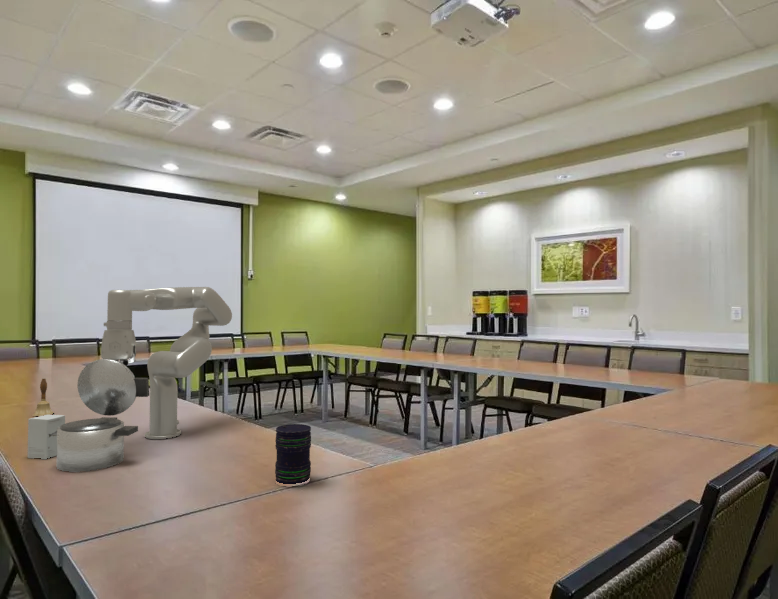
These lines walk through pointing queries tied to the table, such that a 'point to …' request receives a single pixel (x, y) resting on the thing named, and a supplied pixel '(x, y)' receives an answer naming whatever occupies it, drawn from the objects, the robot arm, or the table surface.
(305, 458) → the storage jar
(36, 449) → the supplement box
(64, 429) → the cooker pot
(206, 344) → the robot arm
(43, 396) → the hand bell
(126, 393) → the cooker lid
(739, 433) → the table surface
